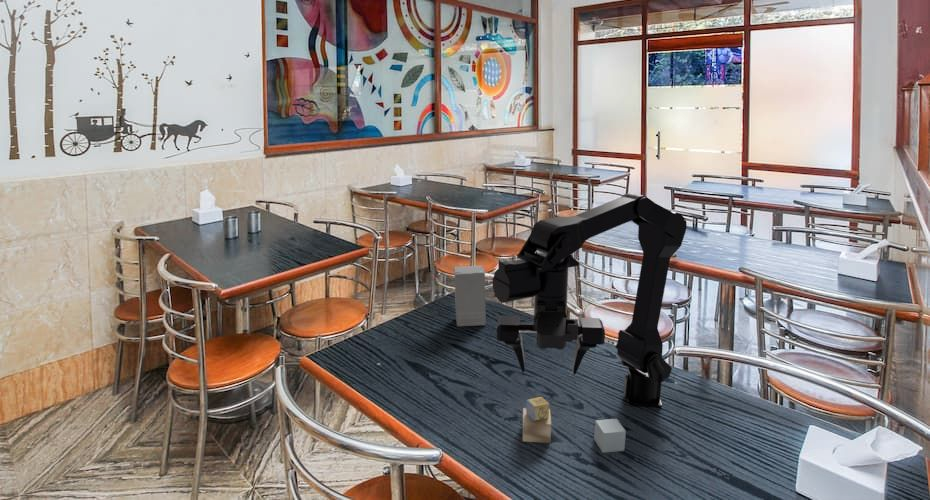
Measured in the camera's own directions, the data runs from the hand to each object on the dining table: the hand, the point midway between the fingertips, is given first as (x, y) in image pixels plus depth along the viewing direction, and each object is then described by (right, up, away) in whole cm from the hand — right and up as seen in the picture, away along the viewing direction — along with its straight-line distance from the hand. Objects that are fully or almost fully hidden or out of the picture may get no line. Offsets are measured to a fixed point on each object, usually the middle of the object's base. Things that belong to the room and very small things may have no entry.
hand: (548, 372), depth 101 cm
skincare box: (-14, +2, +52) cm, 54 cm away
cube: (+11, -13, -2) cm, 17 cm away
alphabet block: (-2, -8, 0) cm, 9 cm away
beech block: (-2, -12, +1) cm, 12 cm away
